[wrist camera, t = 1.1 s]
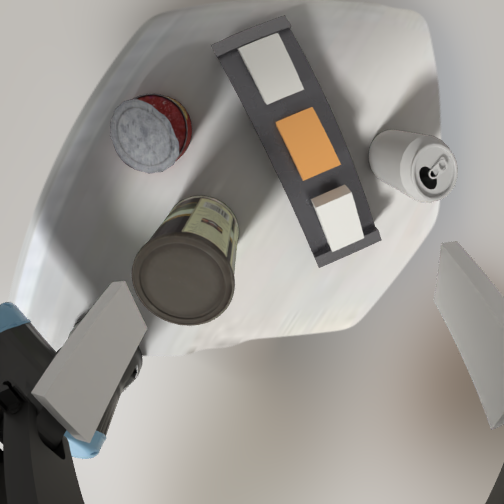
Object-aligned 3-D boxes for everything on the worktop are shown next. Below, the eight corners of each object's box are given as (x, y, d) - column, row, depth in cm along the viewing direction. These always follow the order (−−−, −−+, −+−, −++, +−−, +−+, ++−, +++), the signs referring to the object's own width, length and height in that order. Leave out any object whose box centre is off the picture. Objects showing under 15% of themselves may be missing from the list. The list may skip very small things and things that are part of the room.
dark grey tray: (369, 227, 42) (381, 240, 37) (312, 252, 43) (319, 268, 39) (281, 26, 30) (284, 15, 26) (215, 53, 32) (210, 45, 28)
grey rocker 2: (299, 86, 31) (304, 89, 29) (264, 101, 32) (267, 104, 30) (274, 33, 27) (277, 32, 25) (237, 48, 27) (238, 48, 26)
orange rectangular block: (337, 166, 33) (340, 164, 31) (302, 181, 34) (303, 180, 32) (310, 111, 32) (312, 106, 30) (276, 126, 33) (275, 122, 31)
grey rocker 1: (357, 228, 38) (364, 237, 36) (327, 241, 39) (332, 252, 37) (344, 183, 34) (351, 192, 32) (310, 198, 34) (315, 208, 33)
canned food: (196, 143, 41) (198, 186, 35) (130, 156, 41) (118, 201, 35) (184, 70, 32) (180, 99, 26) (108, 88, 32) (86, 122, 26)
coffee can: (165, 260, 44) (134, 318, 31) (167, 191, 39) (129, 228, 27) (235, 269, 44) (229, 332, 31) (244, 200, 40) (240, 241, 27)
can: (355, 155, 37) (393, 171, 26) (390, 118, 35) (438, 122, 24) (389, 193, 39) (432, 221, 28) (422, 157, 37) (472, 175, 26)
